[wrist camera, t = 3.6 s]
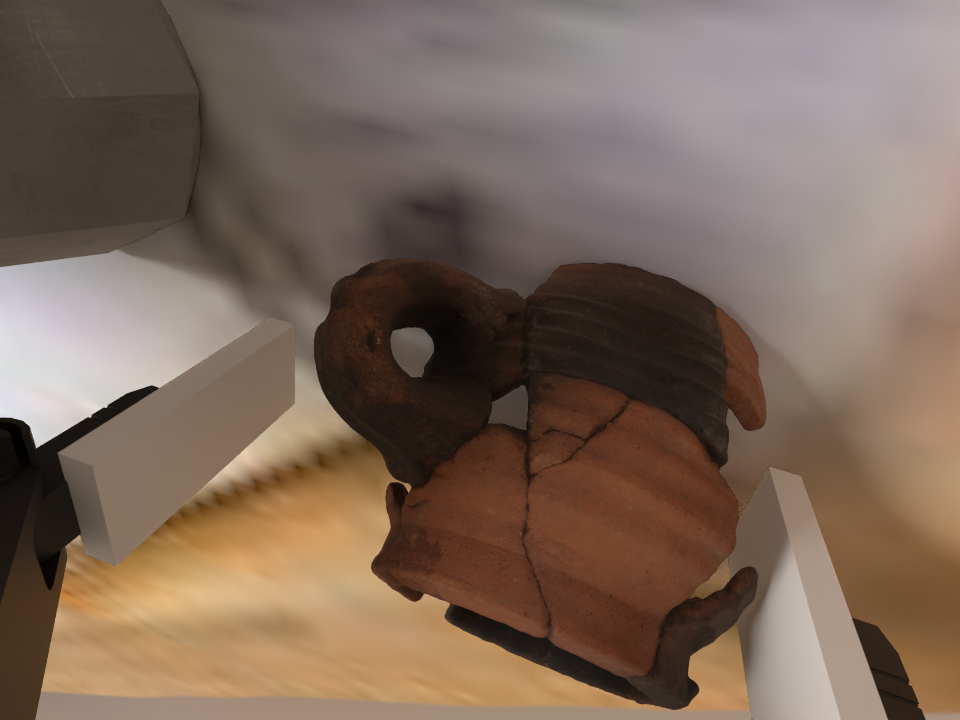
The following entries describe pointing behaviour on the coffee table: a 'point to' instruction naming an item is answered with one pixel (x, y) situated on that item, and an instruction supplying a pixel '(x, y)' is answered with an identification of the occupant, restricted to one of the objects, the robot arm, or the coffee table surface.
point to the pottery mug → (555, 460)
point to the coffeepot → (92, 126)
